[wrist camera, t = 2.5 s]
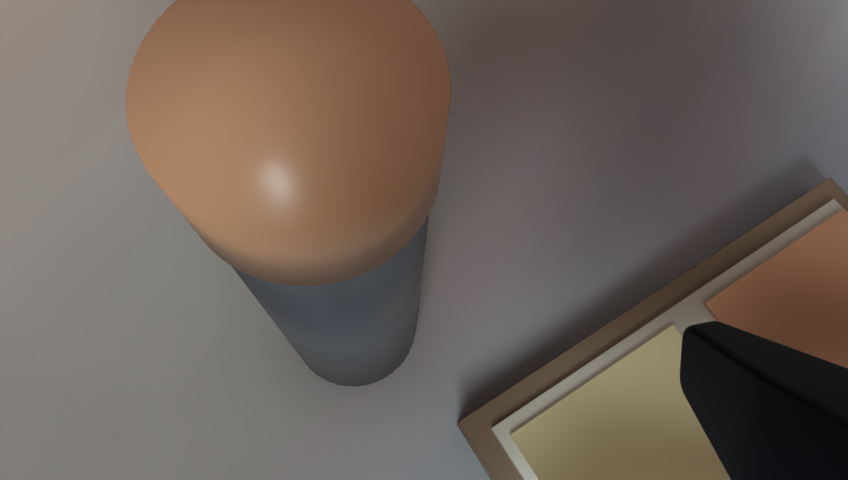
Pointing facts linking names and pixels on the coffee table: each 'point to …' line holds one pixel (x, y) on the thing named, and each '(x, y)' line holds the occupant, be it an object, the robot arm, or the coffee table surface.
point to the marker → (303, 160)
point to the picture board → (672, 357)
